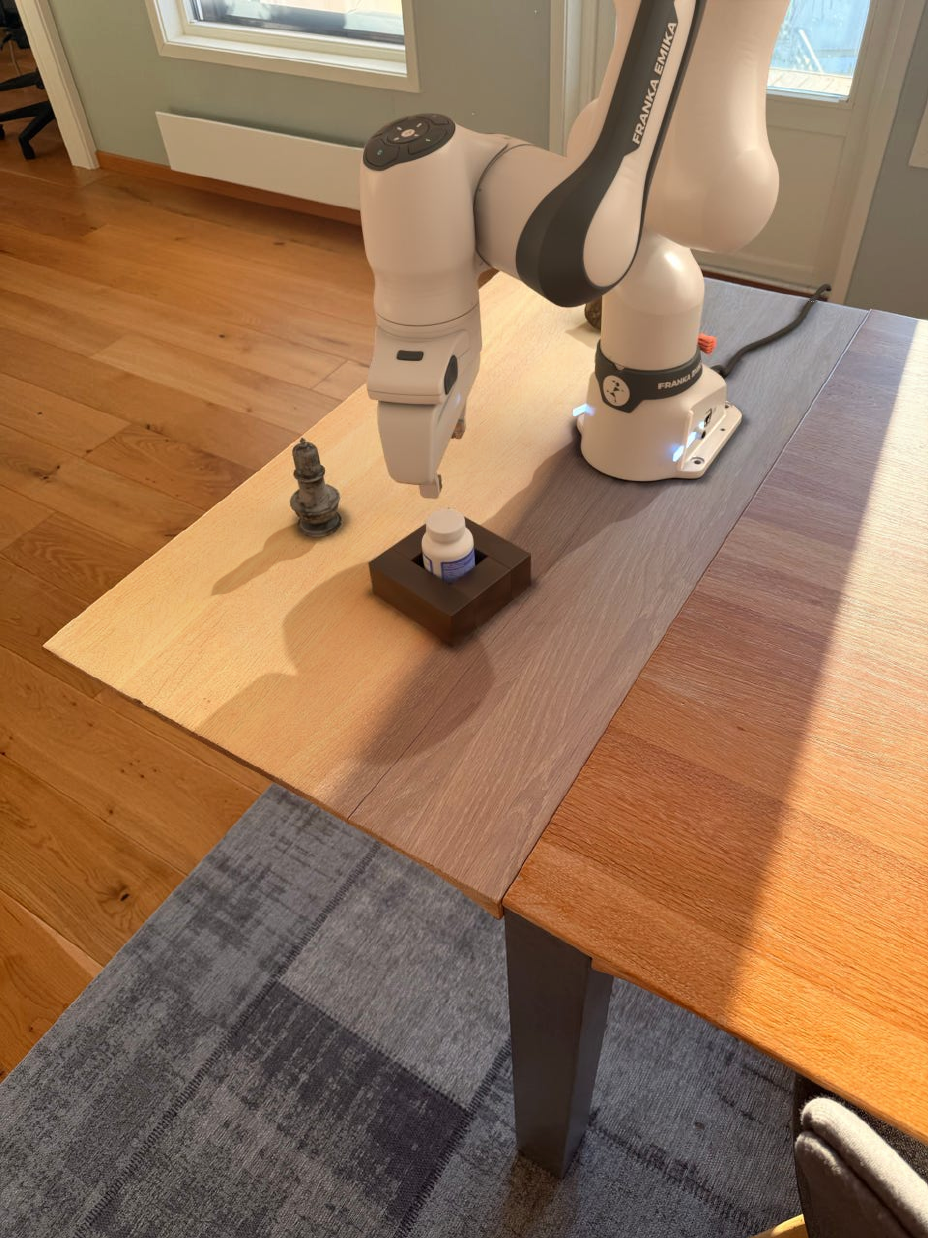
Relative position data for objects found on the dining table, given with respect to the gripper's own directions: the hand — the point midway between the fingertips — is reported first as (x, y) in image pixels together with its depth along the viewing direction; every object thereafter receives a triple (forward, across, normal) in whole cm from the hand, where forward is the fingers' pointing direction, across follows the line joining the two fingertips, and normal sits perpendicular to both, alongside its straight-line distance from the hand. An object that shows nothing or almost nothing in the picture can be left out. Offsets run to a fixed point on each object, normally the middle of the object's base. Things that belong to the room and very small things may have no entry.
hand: (444, 463), depth 87 cm
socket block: (+16, +1, 0) cm, 16 cm away
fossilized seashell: (+18, -61, +10) cm, 65 cm away
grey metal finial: (+16, -7, -19) cm, 26 cm away
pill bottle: (+16, +1, 0) cm, 17 cm away
